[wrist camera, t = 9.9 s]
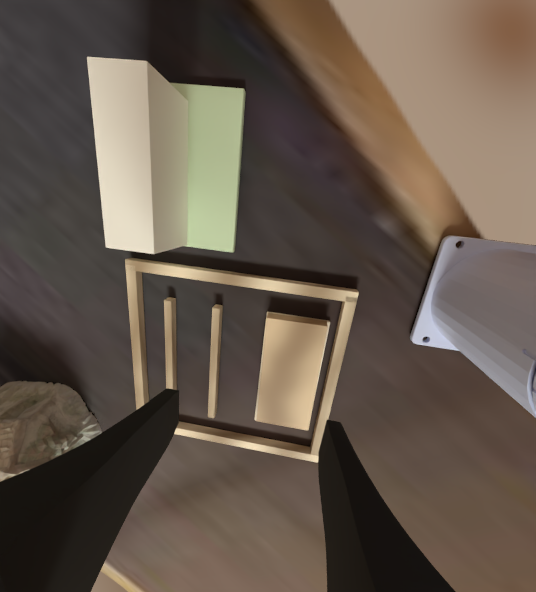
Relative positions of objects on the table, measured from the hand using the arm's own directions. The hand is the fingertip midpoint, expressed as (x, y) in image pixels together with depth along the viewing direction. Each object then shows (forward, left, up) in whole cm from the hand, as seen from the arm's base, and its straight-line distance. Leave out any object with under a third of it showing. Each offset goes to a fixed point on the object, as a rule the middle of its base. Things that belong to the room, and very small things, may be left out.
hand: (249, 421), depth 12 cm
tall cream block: (+9, -11, -9) cm, 16 cm away
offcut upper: (-2, +3, -9) cm, 10 cm away
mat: (+9, -11, -9) cm, 17 cm away
